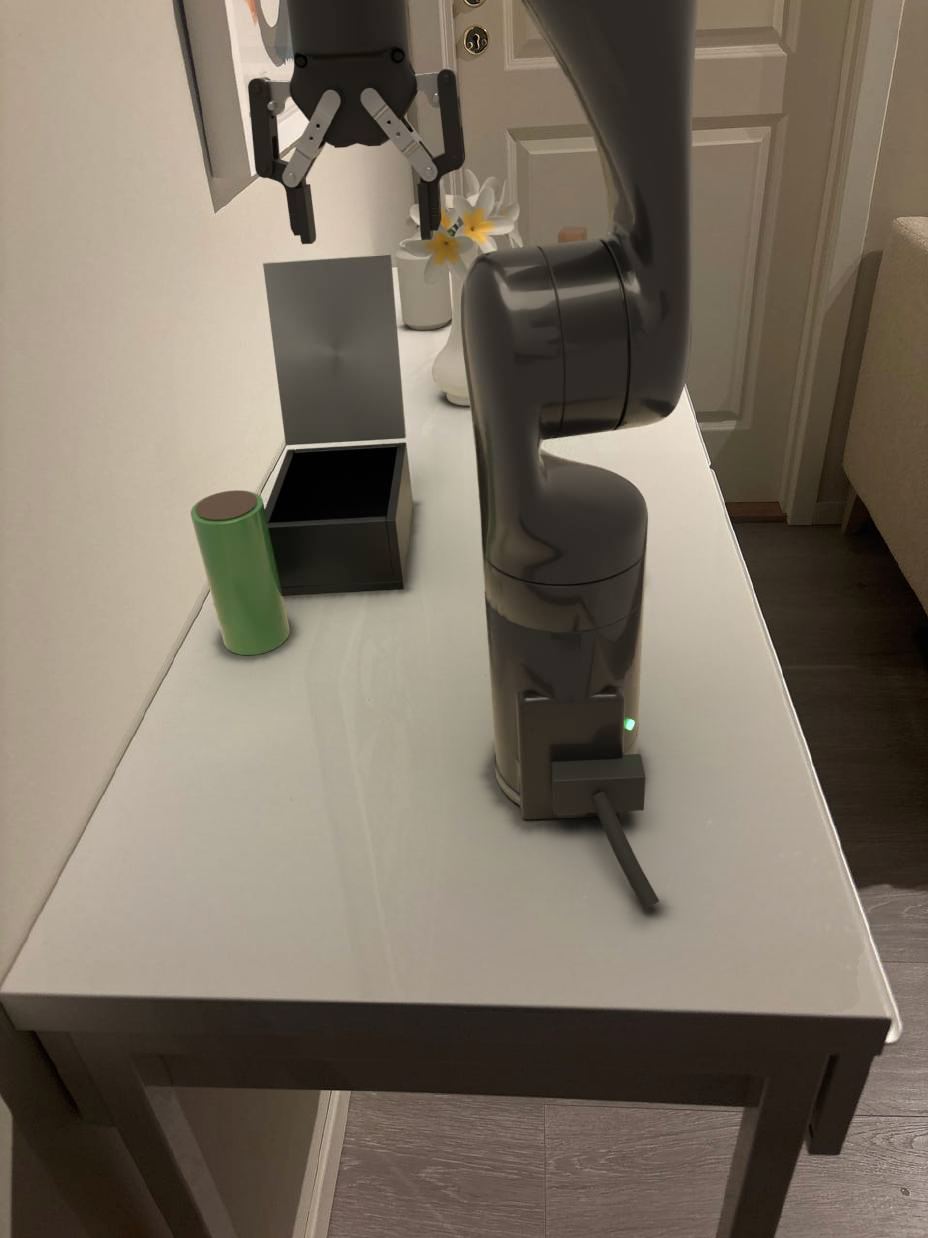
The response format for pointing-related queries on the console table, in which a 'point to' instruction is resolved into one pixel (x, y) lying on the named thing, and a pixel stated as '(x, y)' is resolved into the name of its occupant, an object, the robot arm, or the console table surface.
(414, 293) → the can
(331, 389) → the lid
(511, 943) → the console table surface
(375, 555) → the dark grey open box
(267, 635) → the green cylinder
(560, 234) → the wooden block
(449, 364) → the flower vase
